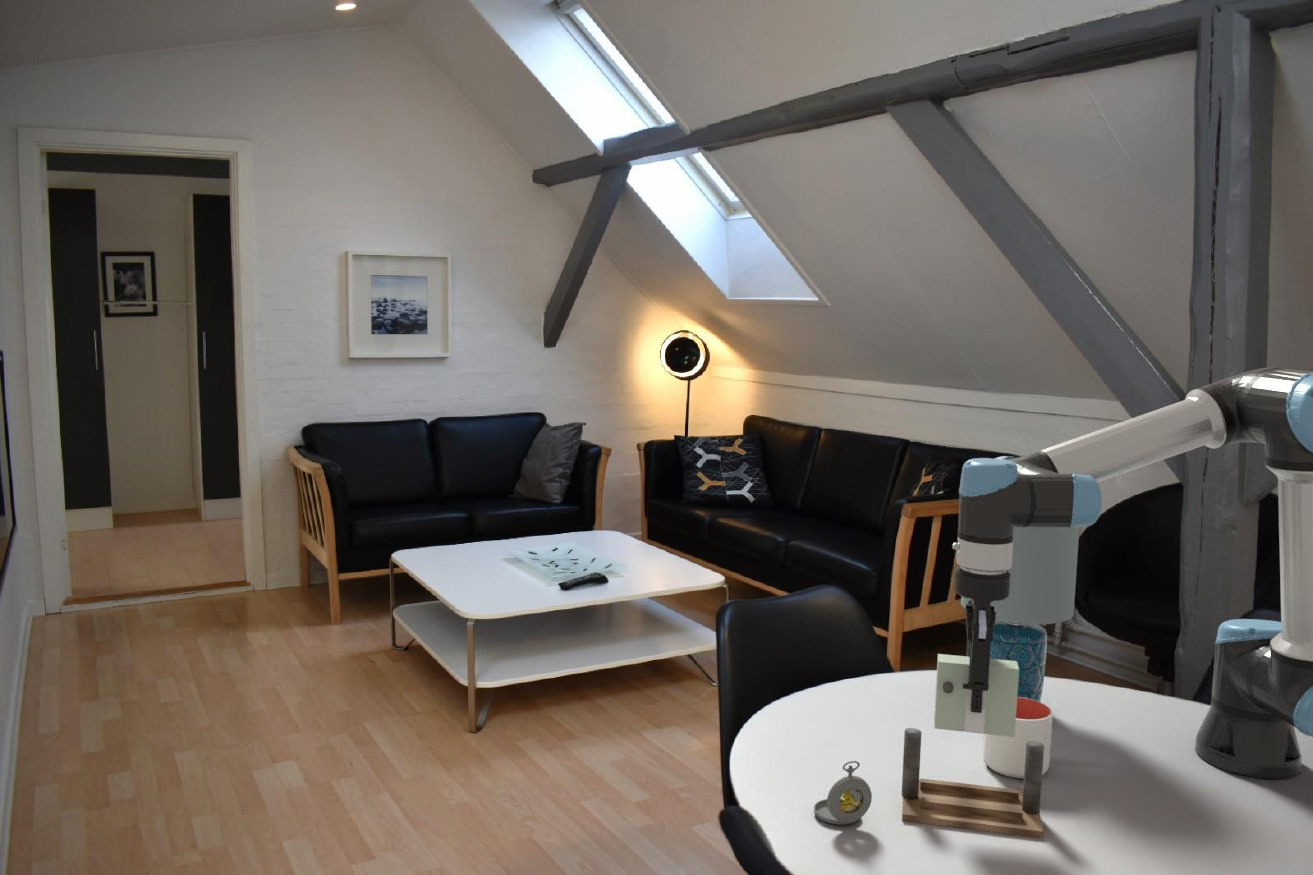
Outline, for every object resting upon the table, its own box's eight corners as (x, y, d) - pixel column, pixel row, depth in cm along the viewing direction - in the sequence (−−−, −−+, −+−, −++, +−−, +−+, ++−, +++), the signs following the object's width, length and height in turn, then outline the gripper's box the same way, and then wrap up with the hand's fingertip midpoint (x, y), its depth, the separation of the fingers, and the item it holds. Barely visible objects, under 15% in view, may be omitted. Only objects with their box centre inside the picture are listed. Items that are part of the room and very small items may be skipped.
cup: (1053, 784, 164) (1057, 722, 163) (985, 778, 166) (989, 716, 165) (1043, 757, 174) (1047, 698, 172) (979, 751, 176) (983, 693, 174)
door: (1012, 727, 154) (1016, 661, 153) (1015, 739, 150) (1019, 671, 149) (934, 719, 157) (937, 653, 156) (934, 730, 153) (938, 663, 151)
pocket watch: (828, 800, 158) (831, 736, 157) (879, 818, 153) (882, 752, 151) (799, 820, 152) (801, 754, 150) (851, 840, 146) (854, 771, 145)
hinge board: (1034, 798, 159) (1039, 728, 158) (1043, 838, 148) (1048, 763, 146) (901, 783, 164) (905, 714, 162) (900, 820, 152) (904, 747, 151)
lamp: (970, 727, 185) (982, 514, 180) (944, 686, 204) (955, 493, 199) (1082, 730, 184) (1097, 517, 179) (1046, 689, 204) (1059, 495, 198)
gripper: (953, 552, 160) (945, 701, 163) (957, 580, 144) (948, 746, 147) (1006, 556, 158) (996, 707, 161) (1016, 585, 142) (1005, 752, 145)
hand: (973, 725), depth 154 cm, fingers closed on door, 3 cm apart
